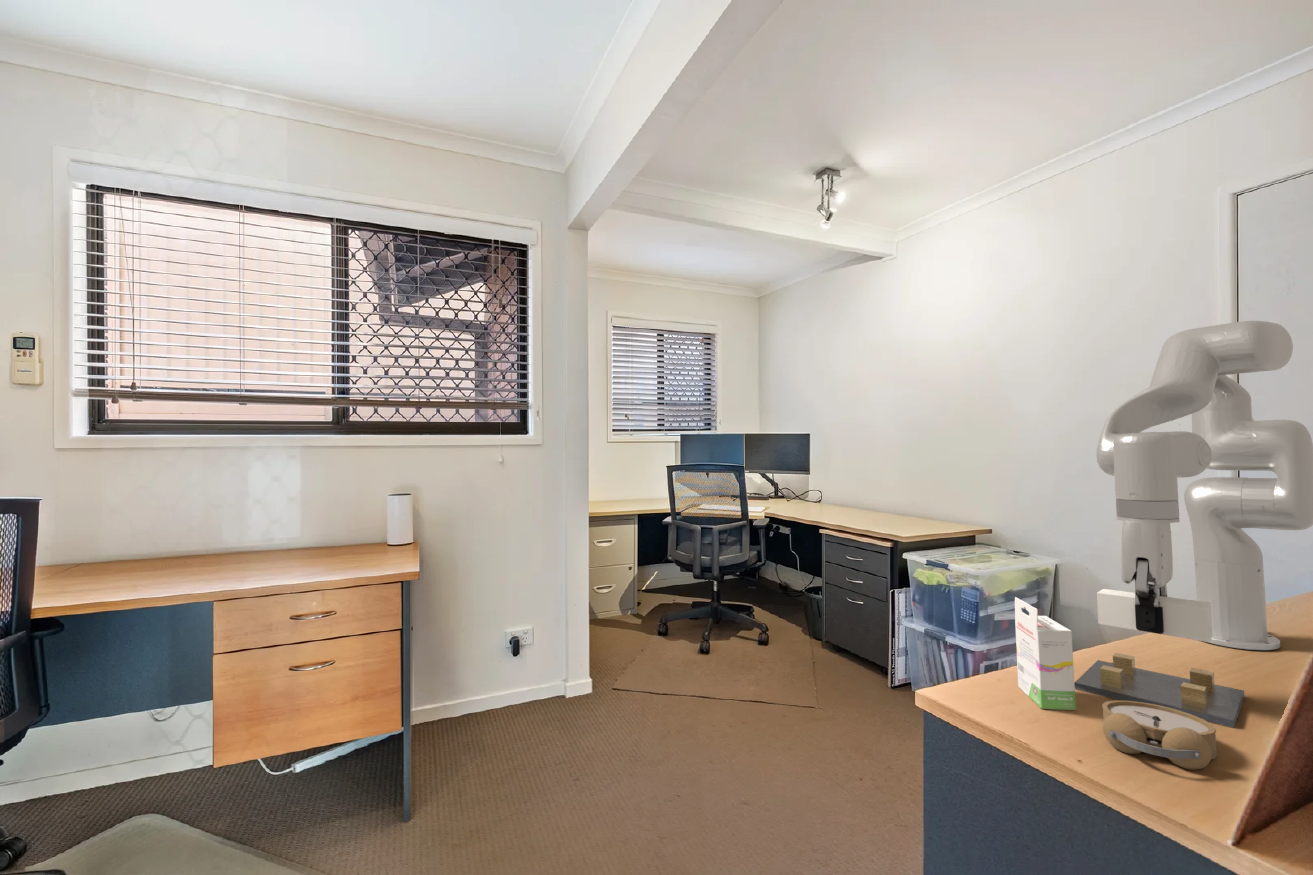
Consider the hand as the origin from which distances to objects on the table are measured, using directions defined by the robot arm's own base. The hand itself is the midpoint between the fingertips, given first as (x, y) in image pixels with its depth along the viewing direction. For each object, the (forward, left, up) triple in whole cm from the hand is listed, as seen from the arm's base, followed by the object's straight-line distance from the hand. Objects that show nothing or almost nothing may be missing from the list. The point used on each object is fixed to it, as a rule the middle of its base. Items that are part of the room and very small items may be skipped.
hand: (1153, 627), depth 89 cm
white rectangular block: (0, 0, 0) cm, 0 cm away
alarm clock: (+20, +3, -11) cm, 23 cm away
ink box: (+14, -11, -10) cm, 20 cm away
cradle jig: (0, 0, -10) cm, 10 cm away
